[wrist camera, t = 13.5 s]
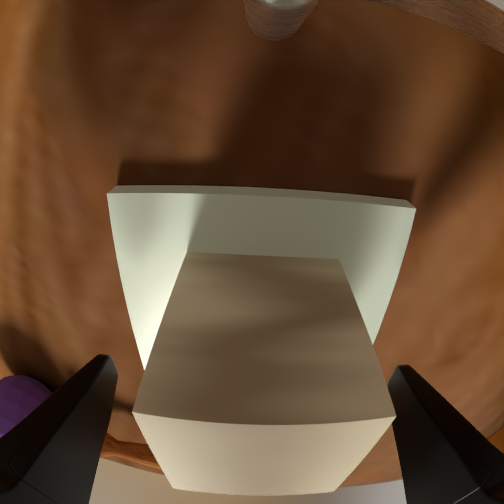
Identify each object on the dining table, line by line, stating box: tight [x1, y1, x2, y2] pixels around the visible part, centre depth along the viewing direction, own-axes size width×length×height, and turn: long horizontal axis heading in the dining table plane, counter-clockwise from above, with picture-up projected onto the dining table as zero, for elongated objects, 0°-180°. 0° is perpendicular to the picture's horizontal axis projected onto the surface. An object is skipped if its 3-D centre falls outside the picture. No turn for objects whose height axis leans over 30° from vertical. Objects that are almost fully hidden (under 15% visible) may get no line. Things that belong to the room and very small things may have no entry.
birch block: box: [132, 252, 396, 495], centre depth 9 cm, size 5×5×6 cm
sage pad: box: [107, 185, 416, 370], centre depth 12 cm, size 10×9×1 cm
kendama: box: [0, 375, 162, 470], centre depth 16 cm, size 6×6×20 cm
